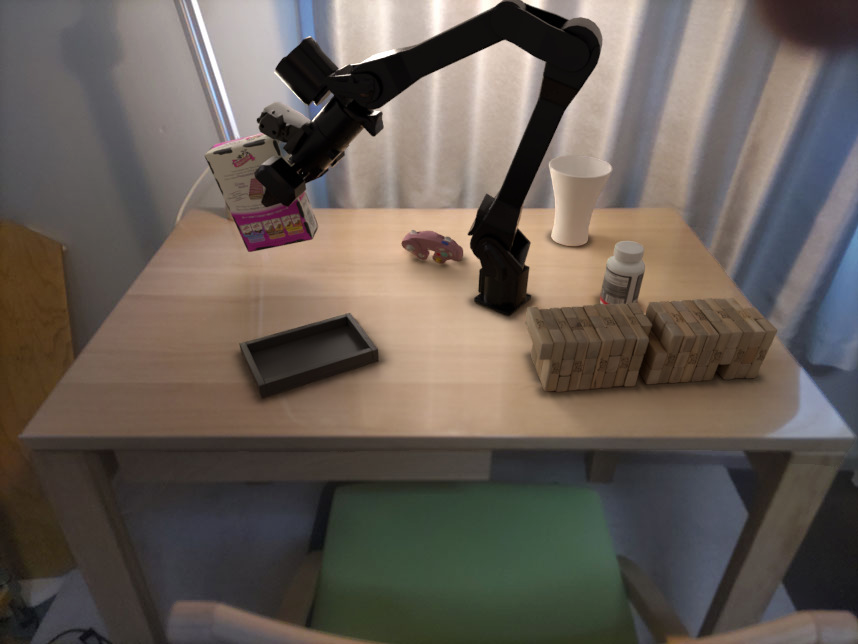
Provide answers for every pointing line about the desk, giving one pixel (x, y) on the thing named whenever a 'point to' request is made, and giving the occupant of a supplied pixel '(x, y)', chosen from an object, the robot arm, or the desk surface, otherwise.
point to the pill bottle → (623, 274)
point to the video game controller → (432, 246)
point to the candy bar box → (258, 194)
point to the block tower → (647, 343)
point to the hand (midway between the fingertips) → (272, 197)
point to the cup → (576, 195)
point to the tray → (307, 354)
